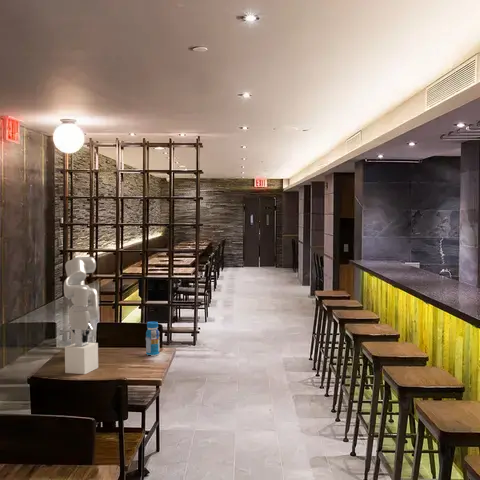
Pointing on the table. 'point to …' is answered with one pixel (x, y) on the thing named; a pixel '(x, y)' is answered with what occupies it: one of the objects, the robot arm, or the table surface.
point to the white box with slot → (81, 358)
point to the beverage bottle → (152, 339)
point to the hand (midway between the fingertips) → (81, 341)
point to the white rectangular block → (79, 338)
